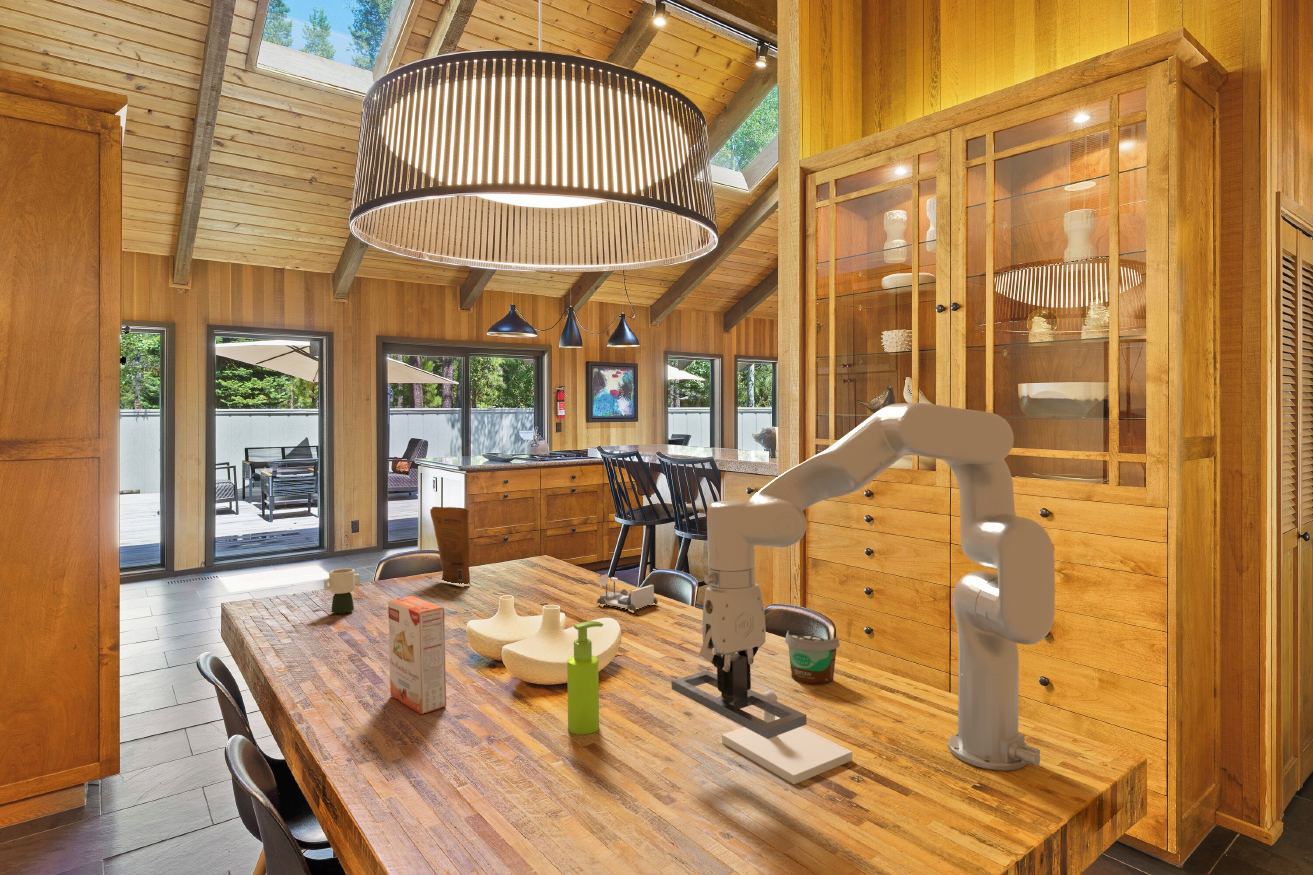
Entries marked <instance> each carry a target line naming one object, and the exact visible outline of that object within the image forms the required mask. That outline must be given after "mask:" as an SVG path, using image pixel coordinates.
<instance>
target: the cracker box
mask: <svg viewBox="0 0 1313 875" xmlns="http://www.w3.org/2000/svg"><path fill="white" fill-rule="evenodd" d="M387 606H388V607H387V608H388V611H387V612H388V614H387V615H388V637H389V638H388V644H389V645H388V646H389V648H388V650H389V651H388V652H389V679H390V680H389V684H390V689H389V690H390V696H391V697H392V696H393V697H392V698H394V699H396V700H397V699H398V701H399V702H400V701H401V704H403V705H404V706H405V705H406V706H407V707H408V706H409V707H408V708H410V709H412V710H413V711H415V712H417V713H418V714H420V715H421V714H422V715H425V714H428V713H431V712H434V711H437V710H440V709H442V708H446V707H447V688H446V687H447V686H446V684H447V682H446V678H447V676H446V638H445V637H446V636H445V634H446V632H445V631H446V630H445V629H446V628H445V626H446V624H445V607H443V606H440V605H438V604H434V603H432V602H429V601H427V600H424V599H422V598H419V597H416V596H414V595H409V596H404V597H399V598H393V599H391V600H388V601H387ZM424 713H425V714H424Z"/></svg>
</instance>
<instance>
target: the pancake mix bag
mask: <svg viewBox="0 0 1313 875" xmlns="http://www.w3.org/2000/svg"><path fill="white" fill-rule="evenodd" d="M429 511H430V512H429V513H430V517H431V521H432V525H433V530H434V535H435V539H436V544H437V549H438V553H439V554H438V555H439V561H440V566H441V569H442V570H441V571H442V576H441V580H444V581H447V582H451V583H459V584H460V583H461V584H462V583H464V584H468V583H469V584H470V585H471V581H470V580H471V577H470V550H471V549H470V548H471V546H470V525H469V523H470V521H469V520H470V518H469V516H470V515H469V514H470V510H469V509H467V508H464V507H455V506H453V507H452V506H448V507H447V506H444V507H443V506H432V508H431V509H430V510H429Z"/></svg>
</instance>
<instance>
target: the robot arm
mask: <svg viewBox="0 0 1313 875" xmlns="http://www.w3.org/2000/svg"><path fill="white" fill-rule="evenodd" d="M1014 438H1015V436H1014V432H1013V428H1012V427H1011V425H1010V424H1009V422H1008V421H1007V420H1006V419H1005V418H1003V417H1002V416H1001V415H999V414H996V413H993V412H990V411H982V410H976V409H975V410H974V409H968V408H967V409H966V408H961V407H960V408H959V407H953V406H945V405H939V404H935V403H934V404H933V403H927V402H904V403H903V402H902V403H901V402H899V403H892V404H888V405H886V406H884V407H882V408H880V409H878V410H877V411H876V412H875V413H873V414H872V415H870V416H869V417H868V418H866V419H865V420H863V421H862V422H861V423H859V424H858V425H857V426H856V427H854V428H853V429H852V430H850V431H849V432H848V433H846V434H845V435H844V436H842V437H841V438H840V439H839V440H837V441H836V442H835V443H833V444H832V445H831V446H829V447H827V448H826V449H825V450H823V451H822V452H819V453H817V454H815V455H814V456H812V457H810V458H808V459H807V460H805V461H803V462H801V463H799V464H798V465H796V466H794V467H792V468H790V469H788V470H787V471H784V473H781V475H779V476H777V477H776V478H775V479H772V481H770V482H769V483H768V484H766V485H765V486H763V487H762V488H761V489H760V490H758V492H756V493H755V494H754V495H753V496H751V497H750V498H749V499H748V501H743V500H720V501H719V500H718V501H715V502H712V503H710V504H709V505H708V507H707V509H706V510H707V511H706V520H707V521H706V526H707V527H706V528H707V530H706V532H707V534H706V535H707V566H708V567H707V569H708V570H707V573H708V574H706V575H704V577H703V581H704V583H705V584H706V585H708V586H707V587H705V593H704V600H703V607H702V608H703V609H702V624H701V626H702V645H701V648H700V651H699V654H698V655H699V657H700V658H702V659H704V660H705V661H709V662H710V664H712V665H713V667H715V668H716V674H717V685H718V688H717V691H719V692H720V693H721V692H722V693H724V694H726V695H729V696H731V695H733V672H732V670H729V669H730V656H731V654H732V653H737V654H739V655H742V656H744V657H747V690H749V689H750V690H752V689H751V688H752V686H751V685H752V684H751V682H752V681H751V680H752V678H751V665H753V663H754V662H755V660H754V659H755V656H756V654H757V652H758V650H759V649H760V648H761V647H762V646H763V645H764V644H765V643H766V636H767V635H766V630H767V629H766V617H765V609H764V602H763V600H764V599H763V597H762V592H761V588H760V585H759V583H757V582H756V565H755V564H756V562H755V560H756V558H755V554H756V553H755V552H756V551H755V546H758V547H761V546H762V547H771V548H773V547H774V548H786V547H790V546H793V545H795V544H797V543H798V542H799V541H800V540H801V539H802V538H803V537H804V536H805V534H806V530H807V520H806V519H807V518H806V515H805V513H804V512H803V511H804V510H806V509H808V508H809V507H811V506H813V505H814V504H818V503H820V502H822V501H824V500H825V501H826V500H827V499H832V498H839V497H843V496H848V495H850V494H852V493H855V492H857V491H860V490H861V489H862V488H864V487H865V486H867V485H868V484H870V482H871V481H873V480H874V479H876V478H877V477H878V476H879V475H880V474H882V473H883V472H885V471H886V470H888V469H889V468H890V467H892V465H894V464H895V463H896V462H898V461H899V460H901V459H902V458H903V457H905V456H908V455H909V456H919V457H926V458H931V459H936V460H942V461H943V462H945V463H946V464H947V465H948V467H949V468H950V469H951V471H952V472H953V474H954V476H955V477H956V481H957V484H958V490H959V491H958V493H959V509H960V512H959V516H960V517H959V519H960V522H959V523H960V534H959V536H960V545H961V550H962V552H963V554H964V556H966V558H968V559H969V560H970V561H972V562H973V563H976V564H978V565H981V566H984V567H987V568H990V569H992V570H993V569H994V570H996V571H997V573H994V572H989V571H983V570H979V571H978V570H977V571H971V572H969V573H967V574H965V575H963V576H962V577H961V578H960V579H959V580H958V581H957V583H956V584H955V586H954V589H953V595H952V605H953V614H954V617H955V622H956V630H957V639H958V641H957V642H958V643H957V644H958V664H957V665H958V666H957V667H958V669H957V670H958V671H957V672H958V674H957V675H958V676H957V677H958V682H957V683H958V687H957V688H958V690H957V693H958V694H957V696H958V697H957V698H958V700H957V701H958V702H957V703H958V706H957V707H958V708H957V709H958V710H957V712H958V713H957V718H958V719H957V733H955V734H953V735H951V737H949V739H948V746H947V747H948V749H949V752H950V753H952V755H954V757H956V758H957V759H959V760H961V761H962V762H965V763H967V764H969V765H972V766H976V767H978V768H982V769H986V770H992V771H993V770H994V771H1014V770H1015V771H1016V770H1019V769H1021V768H1024V767H1025V766H1027V764H1029V765H1032V766H1034V767H1038V766H1039V765H1040V762H1041V750H1040V749H1039V748H1037V747H1034V746H1030V745H1028V744H1027V743H1026V742H1025V741H1026V740H1025V733H1022V732H1019V701H1020V700H1019V693H1020V692H1019V690H1020V687H1019V686H1020V685H1019V684H1020V682H1019V681H1020V680H1019V679H1020V676H1019V675H1020V674H1019V672H1020V658H1019V650H1018V648H1019V647H1018V644H1019V645H1025V646H1028V645H1029V646H1030V645H1034V644H1035V645H1036V644H1037V643H1039V642H1042V641H1043V640H1044V639H1045V638H1046V637H1047V636H1048V635H1049V633H1050V631H1051V628H1052V626H1053V623H1054V620H1055V607H1056V596H1055V595H1056V592H1055V591H1056V587H1055V586H1056V584H1055V582H1056V580H1055V576H1056V575H1055V574H1056V573H1055V572H1056V571H1055V569H1056V568H1055V565H1056V564H1055V552H1054V551H1055V550H1054V546H1053V542H1052V538H1051V537H1050V536H1049V534H1048V532H1047V531H1046V529H1045V527H1043V526H1042V525H1041V524H1040V523H1038V522H1036V521H1035V520H1033V519H1030V518H1028V517H1023V516H1019V515H1016V509H1015V495H1014V493H1015V492H1014V484H1013V483H1014V482H1013V478H1012V473H1011V471H1010V468H1009V466H1008V464H1007V463H1006V460H1005V458H1007V457H1008V455H1009V454H1010V453H1011V452H1012V449H1013V446H1014V442H1015V441H1014ZM721 656H723V660H722V659H721Z"/></svg>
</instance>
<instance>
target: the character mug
mask: <svg viewBox="0 0 1313 875" xmlns="http://www.w3.org/2000/svg"><path fill="white" fill-rule="evenodd" d="M328 575H329V576H328V577H329V578H326V579H324V581H323V589H324V591H329V592H330V593H332V594H333V596H332V600H331V601H332V603H331V613H333V614H334V613H335V614H337V613H339V614H347V613H346V612H348V613H351V612H353V611H354V609H355V606H354V601H353V595H352V593H351V592H353V591H354V590H355V588H356V585H357V586H358V585H359V584H360V581H361V580H360V578H361V576H360V574H359V573H355V569H354V568H337V569H332V570H330V571H329V573H328ZM355 578H356V580H355ZM328 583H329V584H328ZM328 585H329V586H328ZM350 611H351V612H350Z"/></svg>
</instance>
